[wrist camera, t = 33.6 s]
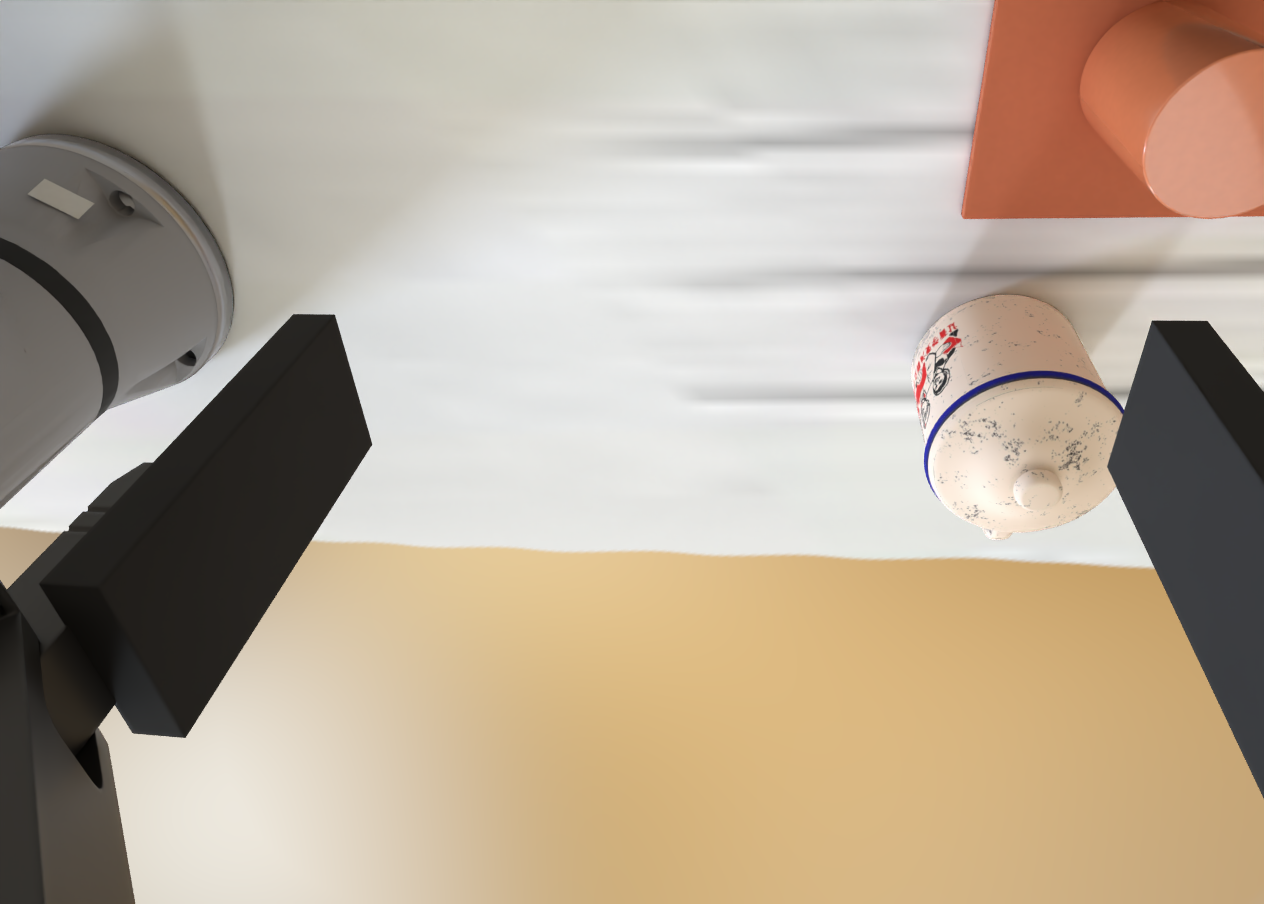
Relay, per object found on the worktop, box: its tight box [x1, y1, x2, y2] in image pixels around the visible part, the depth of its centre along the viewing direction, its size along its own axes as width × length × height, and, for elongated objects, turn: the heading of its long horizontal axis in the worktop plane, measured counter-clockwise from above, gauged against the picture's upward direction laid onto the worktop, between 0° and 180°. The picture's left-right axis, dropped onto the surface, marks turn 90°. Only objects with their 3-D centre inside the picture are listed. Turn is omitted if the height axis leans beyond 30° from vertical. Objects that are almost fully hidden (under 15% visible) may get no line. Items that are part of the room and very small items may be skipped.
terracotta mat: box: [961, 0, 1264, 219], centre depth 40 cm, size 14×11×1 cm
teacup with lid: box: [911, 295, 1124, 540], centre depth 45 cm, size 12×9×12 cm
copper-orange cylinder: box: [1080, 0, 1264, 219], centre depth 35 cm, size 6×6×9 cm
